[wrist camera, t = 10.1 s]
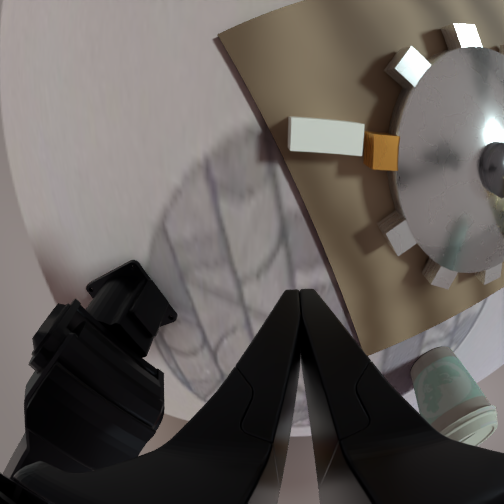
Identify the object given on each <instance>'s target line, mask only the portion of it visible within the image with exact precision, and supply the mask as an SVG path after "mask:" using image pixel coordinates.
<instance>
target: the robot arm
mask: <svg viewBox="0 0 504 504" xmlns="http://www.w3.org/2000/svg"><path fill="white" fill-rule="evenodd" d="M132 265H134V266H135V267H136V268H134V267H133V266H132ZM91 288H92V289H91ZM86 289H87V291H88V293H89V294H90V295H91V296H92V298H93V300H92V301H91V303H90V304H89V305H88V307H87V308H86V310H85V309H84V308H83V307H82V306H81V305H80V304H81V303H80V302H79V301H78V300H77V299H75V300H74V301H73V302H72V303H71V304H69V303H68V304H66V305H63V304H57V306H56V307H55V308H54V309H53V311H52V312H51V313H50V315H49V316H48V317H47V319H46V320H45V321H44V323H43V324H42V325H41V327H40V328H39V330H38V331H37V333H36V334H35V335H34V337H33V338H32V339H33V345H34V350H33V352H32V355H33V357H32V358H31V360H30V362H29V365H30V366H31V367H32V368H33V369H34V370H35V372H34V373H33V375H32V376H31V378H30V380H29V381H28V383H27V385H26V389H25V400H24V414H25V434H24V436H23V438H22V439H21V441H20V443H19V444H18V446H17V448H16V450H15V452H14V453H13V456H12V457H11V459H10V461H9V463H8V465H7V467H6V469H5V471H4V472H3V474H2V473H0V504H277V502H278V497H279V493H280V492H279V491H280V488H281V483H282V478H283V472H284V467H285V462H286V456H287V450H288V445H289V439H290V433H291V427H292V420H293V414H294V407H295V400H296V393H297V386H298V378H299V371H300V359H301V364H302V371H303V378H304V384H305V391H306V398H307V405H308V412H309V419H310V426H311V434H312V441H313V449H314V456H315V464H316V473H317V481H318V489H319V498H320V504H504V453H500V452H496V451H492V450H488V449H484V448H480V447H477V446H473V445H469V444H466V443H462V442H459V441H456V440H453V439H450V438H448V437H446V436H444V435H443V434H441V433H440V432H438V431H437V430H436V429H435V428H433V427H432V426H431V425H430V424H429V423H428V422H427V421H426V420H425V419H424V418H423V417H422V416H421V415H420V414H419V413H418V412H417V411H416V410H415V409H414V408H413V407H412V406H411V405H410V404H409V403H408V402H407V401H406V400H405V399H404V398H403V397H402V396H401V395H400V394H399V393H398V392H397V391H396V390H395V389H394V388H393V387H392V385H391V384H390V383H389V382H388V381H387V380H386V379H385V377H384V376H383V375H382V374H381V373H380V371H379V370H378V369H377V367H376V366H375V365H374V364H373V362H371V360H370V359H369V357H368V356H367V355H366V354H365V352H364V351H363V350H362V348H361V347H360V346H359V345H358V343H357V342H356V341H355V340H354V338H353V337H352V336H351V335H350V333H349V332H348V331H347V330H346V328H345V327H344V326H343V325H342V323H341V322H340V321H339V320H338V318H337V317H336V316H335V315H334V313H333V312H332V311H331V310H330V308H329V307H328V306H327V305H326V303H325V302H324V301H323V300H322V298H321V297H320V296H319V295H318V294H317V292H316V291H315V290H314V289H301V290H300V293H299V290H297V289H295V290H285V291H284V293H283V294H282V296H281V297H280V299H279V300H278V302H277V304H276V305H275V307H274V308H273V310H272V311H271V313H270V314H269V316H268V318H267V319H266V321H265V322H264V324H263V325H262V327H261V328H260V330H259V331H258V333H257V334H256V336H255V337H254V339H253V340H252V342H251V343H250V345H249V346H248V348H247V349H246V351H245V352H244V354H243V355H242V357H241V358H240V360H239V361H238V363H237V364H236V367H234V368H233V370H232V371H231V373H230V374H229V376H228V377H227V378H226V380H225V381H224V382H223V384H222V385H221V386H220V388H219V389H218V390H217V392H216V393H215V394H214V395H213V396H212V397H211V398H210V400H209V401H208V402H207V403H206V404H205V405H204V406H203V407H202V408H201V409H200V410H199V411H198V412H197V413H196V415H195V416H194V417H193V418H192V419H191V420H190V421H189V422H188V423H187V424H186V425H185V426H184V427H183V428H182V429H181V430H180V431H179V432H178V433H177V434H176V435H175V436H174V437H173V438H172V439H171V440H169V441H168V442H167V443H166V444H164V445H163V446H161V447H160V448H158V449H156V450H154V451H152V452H149V453H146V454H144V455H141V456H138V455H139V453H140V452H141V450H142V449H143V447H144V446H145V444H146V443H147V442H148V441H149V440H150V439H151V438H152V437H153V436H154V434H155V433H156V430H157V429H158V427H159V425H160V423H161V421H162V419H163V415H164V373H163V372H162V371H161V370H159V369H156V368H155V367H153V366H152V365H151V364H149V363H148V362H147V361H145V360H144V359H143V357H146V356H147V354H148V351H149V349H150V346H151V343H152V341H153V338H154V337H155V336H156V335H157V332H158V330H159V327H160V326H163V325H166V324H169V323H172V322H174V321H176V319H177V313H176V312H175V311H174V309H173V308H172V307H171V306H170V304H169V303H168V301H167V299H166V298H165V297H164V296H163V294H162V293H161V292H160V290H159V289H158V287H157V286H156V285H155V283H154V282H153V281H152V280H151V279H150V277H149V276H148V275H147V273H146V272H145V271H144V269H143V268H142V266H141V265H140V263H139V262H138V261H136V260H131V261H129V262H128V263H126V264H124V265H122V266H120V267H118V268H116V269H114V270H113V271H111V272H109V273H107V274H105V275H103V276H101V277H100V278H98V279H96V280H94V281H92V282H91V283H89V284H88V285H87V287H86ZM169 315H171V316H173V317H171V316H169Z"/></svg>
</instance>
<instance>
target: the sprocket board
mask: <svg viewBox="0 0 504 504" xmlns="http://www.w3.org/2000/svg"><path fill="white" fill-rule="evenodd" d="M451 24H473V25H475V27H476V30H477V33H478V36H479V39H480V42H481V45H482V47H484V48H488V49H492V50H494V51H496V52H499V48H500V45H504V0H304V1H301V2H298V3H294V4H291V5H288V6H285V7H283V8H280V9H277V10H274V11H271V12H269V13H266V14H264V15H261V16H258V17H256V18H253V19H251V20H249V21H246V22H244V23H242V24H239V25H237V26H235V27H233V28H230V29H228V30H226V31H224V32H222V33H220V34H218V37H219V38H220V40H221V42H222V43H223V45H224V47H225V48H226V50H227V52H228V54H229V55H230V57H231V59H232V61H233V62H234V64H235V66H236V68H237V69H238V71H239V73H240V75H241V77H242V78H243V80H244V82H245V84H246V86H247V88H248V89H249V91H250V93H251V95H252V97H253V99H254V101H255V103H256V104H257V106H258V108H259V110H260V112H261V114H262V116H263V118H264V120H265V122H266V124H267V126H268V128H269V130H270V132H271V134H272V136H273V138H274V140H275V142H276V144H277V146H278V148H279V150H280V152H281V154H282V156H283V158H284V160H285V162H286V164H287V166H288V169H289V171H290V173H291V175H292V177H293V179H294V181H295V184H296V186H297V188H298V190H299V192H300V194H301V197H302V199H303V201H304V203H305V206H306V208H307V210H308V212H309V215H310V217H311V219H312V221H313V224H314V226H315V228H316V231H317V233H318V235H319V238H320V240H321V243H322V245H323V247H324V250H325V252H326V255H327V257H328V259H329V262H330V264H331V267H332V269H333V272H334V274H335V277H336V279H337V282H338V284H339V287H340V290H341V292H342V295H343V297H344V300H345V303H346V305H347V308H348V311H349V313H350V316H351V319H352V322H353V324H354V327H355V330H356V333H357V336H358V338H359V341H360V344H361V347H362V350H363V351H364V352H365V354H366V355H367V356H369V355H371V354H374V353H376V352H379V351H381V350H383V349H386V348H388V347H390V346H393V345H395V344H397V343H400V342H402V341H404V340H406V339H408V338H411V337H413V336H415V335H417V334H419V333H421V332H423V331H425V330H427V329H430V328H432V327H434V326H436V325H438V324H440V323H441V322H443V321H445V320H447V319H449V318H451V317H453V316H455V315H457V314H459V313H460V312H462V311H464V310H466V309H468V308H469V307H471V306H473V305H475V304H476V303H478V302H480V301H482V300H483V299H485V298H487V297H488V296H490V295H492V294H493V293H495V292H496V291H498V290H500V289H501V288H503V287H504V261H503V262H502V269H501V277H500V278H498V279H496V280H494V281H492V282H490V283H488V284H486V285H484V284H483V283H482V282H481V281H480V280H479V279H478V278H477V277H476V276H475V275H474V274H475V272H474V273H460V272H458V273H457V275H456V277H455V279H454V281H453V282H452V284H451V286H450V287H449V289H445V288H441V287H438V286H434V285H431V284H430V283H429V282H428V280H427V279H426V278H425V276H424V275H423V274H422V271H423V269H424V267H425V265H426V264H427V262H428V260H429V258H430V257H429V256H428V255H427V254H426V253H425V252H424V251H423V250H422V249H421V248H420V246H419V245H418V244H415V245H414V246H412V247H411V248H410V249H408V250H407V251H405V252H404V253H402V254H401V255H400V256H397V254H396V253H395V252H394V251H393V249H392V248H391V247H390V245H389V244H388V242H387V240H386V238H385V237H384V235H383V233H382V231H381V230H380V228H379V226H378V224H377V223H378V222H379V221H381V220H382V219H384V218H385V217H386V216H388V215H389V214H391V213H392V212H394V211H395V210H396V209H395V207H394V203H393V200H392V196H391V193H390V188H389V181H388V176H387V170H372V169H371V168H369V167H368V166H366V165H365V164H363V162H364V139H363V151H362V156H354V155H344V154H332V153H318V152H302V151H290V150H289V148H288V118H289V116H291V117H307V118H320V119H331V120H341V121H350V122H357V123H361V124H365V126H364V131H369V132H382V133H388V132H389V125H390V121H391V117H392V114H393V110H394V107H395V104H396V102H397V99H398V96H399V94H400V92H401V90H402V89H403V88H402V87H401V86H400V85H399V84H398V83H397V82H396V81H395V80H394V79H392V78H391V77H390V76H389V75H388V74H387V73H386V72H385V71H384V69H385V68H386V67H387V65H388V64H389V63H390V61H391V60H392V59H393V57H394V56H395V55H396V53H397V52H398V51H399V49H402V48H406V47H409V46H412V47H413V48H415V49H416V50H417V51H418V52H419V53H420V54H421V55H422V56H423V57H424V58H425V59H426V60H427V59H428V58H430V57H432V56H433V55H435V54H437V53H440V52H442V51H445V50H448V48H447V45H446V42H445V39H444V36H443V34H442V31H441V27H444V26H448V25H451Z"/></svg>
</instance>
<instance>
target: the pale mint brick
mask: <svg viewBox="0 0 504 504" xmlns="http://www.w3.org/2000/svg"><path fill="white" fill-rule="evenodd" d="M364 126H365V124H361V123H357V122H350V121H341V120H331V119H320V118H307V117H291V116H289V118H288V148H289V150H290V151H302V152H318V153H332V154H344V155H354V156H362V151H363V139H364Z"/></svg>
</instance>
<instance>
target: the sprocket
mask: <svg viewBox="0 0 504 504" xmlns="http://www.w3.org/2000/svg"><path fill="white" fill-rule="evenodd" d="M441 31H442V34H443V36H444V39H445V42H446V45H447V48H448V50H445V51H442V52H440V53H437V54H435V55H433V56H432V57H430V58H428V59H427V60H426V59H425V58H424V57H423V56H422V55H421V54H420V53H419V52H418V51H417V50H416V49H415V48H413V47H412V46H409V47H406V48H402V49H399V51H398V52H397V53H396V55H395V56H394V57H393V59H392V60H391V61H390V63H389V64H388V65H387V67H386V68H385V69H384V71H385V72H386V73H387V74H388V75H389V76H390V77H391V78H392V79H394V80H395V81H396V82H397V83H398V84H399V85H400V86H401V87H402V88H403V89H402V90H401V92H400V94H399V96H398V99H397V102H396V104H395V107H394V110H393V114H392V117H391V121H390V125H389V132H388V133H382V132H369V131H364V162H363V164H365V165H366V166H368V167H369V168H371V169H372V170H387V176H388V181H389V188H390V193H391V196H392V200H393V203H394V207H395V209H396V210H395V211H394V212H392V213H391V214H389V215H388V216H386V217H385V218H384V219H382V220H381V221H379V222H378V223H377V224H378V226H379V228H380V230H381V231H382V233H383V235H384V237H385V238H386V240H387V242H388V244H389V245H390V247H391V248H392V249H393V251H394V252H395V253H396V254H397V256H400V255H401V254H402V253H404V252H405V251H407V250H408V249H410V248H411V247H412V246H414V245H415V244H418V245H419V246H420V248H421V249H422V250H423V251H424V252H425V253H426V254H427V255H428V256H429V257H430V258H429V260H428V262H427V264H426V265H425V267H424V269H423V271H422V274H423V275H424V276H425V278H426V279H427V280H428V282H429V283H430V284H431V285H434V286H438V287H441V288H445V289H449V287H450V286H451V284H452V282H453V281H454V279H455V277H456V275H457V273H458V272H460V273H474V272H475V274H474V275H475V276H476V277H477V278H478V279H479V280H480V281H481V282H482V283H483V284H484V285H486V284H488V283H490V282H492V281H494V280H496V279H498V278H500V277H501V269H502V262H503V261H504V45H500V48H499V52H496V51H494V50H492V49H488V48H484V47H482V45H481V42H480V39H479V36H478V33H477V30H476V27H475V25H473V24H451V25H448V26H444V27H441Z"/></svg>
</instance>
